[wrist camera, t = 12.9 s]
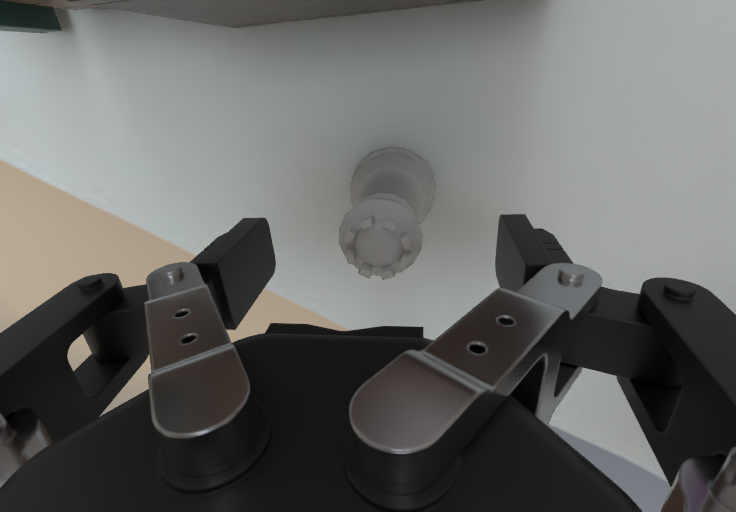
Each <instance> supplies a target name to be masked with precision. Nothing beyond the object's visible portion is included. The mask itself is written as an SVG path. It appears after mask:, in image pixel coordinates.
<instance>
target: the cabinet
mask: <svg viewBox="0 0 736 512" xmlns="http://www.w3.org/2000/svg"><path fill="white" fill-rule="evenodd" d="M67 1H69V2H73V3H79V4H86V5H91V6H97V7H104V8H110V9H116V10H123V11H129V12H136V13H142V14H148V15H155V16H161V17H168V18H174V19H180V20H187V21H193V22H199V23H206V24H212V25H219V26H225V27H232V28H239V27H248V26H257V25H266V24H274V23H283V22H292V21H301V20H310V19H319V18H328V17H337V16H346V15H355V14H364V13H373V12H382V11H391V10H400V9H409V8H418V7H427V6H436V5H445V4H454V3H463V2H471V1H480V0H67Z"/></svg>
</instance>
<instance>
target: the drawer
mask: <svg viewBox="0 0 736 512" xmlns="http://www.w3.org/2000/svg"><path fill="white" fill-rule="evenodd" d="M53 7H54V8H61V9H62V8H64V9H70V10H81V9H89V8H97V6H91V5H86V4H79V3H73V2H69V1H67V0H0V30H1V31H17V32H32V33H47V32H56V31H61V27H60V24H59V21H58V19H57V16H56V13H55V11H54V8H53Z"/></svg>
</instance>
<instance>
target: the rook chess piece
mask: <svg viewBox="0 0 736 512" xmlns="http://www.w3.org/2000/svg"><path fill="white" fill-rule="evenodd" d="M434 189H435V183H434V180H433V176H432V173H431V170H430V168H429V167H428V166H427V165H426V163H425V162H424V161H423V160H422V159H421V158H420V157H419V156H418V155H416V154H414V153H412V152H410V151H408V150H406V149H402V148H385V149H382V150H379V151H376V152H374V153H371V154H370V155H369V156H368V157H367V158H366V159H364V160H363V161H362V162H361V163H360V164H359V166H358V168H357V170H356V173H355V175H354V177H353V181H352V183H351V201H352V204H353V206H354V208H353V209H352V210H350V211H349V212H348V213H347V214H346V215H345V217H344V219H343V222H342V224H341V226H340V228H339V244H340V246H341V248H342V251H343V253H344V255H345V257H346V259H347V261H348V264H351V263H352V264H353V265H354V266H355V267H356V268H357V269H359V272H358V274H360V275H362V276H365V277H367V278H369V279H370V276H371V275H379V276H382V280H384V279H388V278H392V277H395V274H396V273H400V272H402V271H403V270H405V269H406V268H407V267H409V266H410V265H412V264H413V263H414V261H415V259H416V258H417V256H418V254H419V253H420V251H421V244H422V233H421V230H420V227H419V223H420V222H422V221H423V220H424V219H425V217H426V216H427V214H428V212H429V210H430V208H431V207H432V203H433V199H434Z"/></svg>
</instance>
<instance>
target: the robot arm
mask: <svg viewBox="0 0 736 512" xmlns="http://www.w3.org/2000/svg"><path fill="white" fill-rule="evenodd" d="M275 265H276V261H275V254H274V249H273V244H272V239H271V233H270V228H269V224H268V221H267V220H266V219H265V218H243V219H242V220H241V221H240V222H239V223H238V224H237V225H235V226H234V227H233V228H232V229H231V230H230V231H229V232H227V233H225V234H223V235H221V236H219V237H218V238H216V239H215V240H214V241H213V242H212V243H211V244H210V245H209V246H207V247H206V248H205V249H204V251H202V252H201V253H199V254H198V255H197V256H196V257H195V258H194V259H193V260H192V261H190V262H180V263H173V264H169V265H166V266H163V267H161V268H158V269H156V270H155V271H153V272H152V273H150V274H149V275H148V276H147V279H146V282H147V284H146V285H140V286H133V287H127V288H123V287H122V285H121V282H120V280H119V277H118V275H116V274H112V273H103V274H97V275H91V276H87V277H84V278H82V279H80V280H78V281H76V282H74V283H72V284H70V285H69V286H67V287H66V288H64V289H63V290H62V291H60V292H59V293H57V294H56V295H54V296H53V297H51V298H50V299H49V300H47V301H46V302H44V303H43V304H42V305H40V306H39V307H37V308H36V309H34V310H33V311H31V312H30V313H29V314H27V315H26V316H24V317H23V318H21V319H20V320H19V321H17V322H16V323H14V324H13V325H11V326H10V327H9V328H7V329H6V330H4V331H3V332H2V333H0V512H642V510H641V509H640V508H639V507H638V506H637V505H636V503H635V502H634V501H633V500H632V499H631V498H630V497H629V496H628V495H627V494H626V493H625V492H624V491H623V490H622V489H621V488H620V487H619V486H617V484H615V483H614V482H613V481H612V480H611V479H610V478H608V477H607V476H606V475H605V474H604V473H602V472H601V471H600V470H599V469H598V468H596V467H595V466H594V465H593V464H592V463H591V462H589V461H588V460H587V459H586V458H585V457H584V456H582V455H581V454H580V453H579V452H577V451H576V450H575V449H574V448H573V447H572V446H570V445H569V444H568V443H567V442H566V441H565V440H563V439H562V438H561V437H560V436H559V435H557V434H556V433H555V432H554V431H553V430H552V429H550V428H549V427H548V424H549V421H550V419H551V416H552V414H553V413H554V411H555V409H556V408H557V406H558V405H559V404H560V402H561V401H562V399H563V398H564V396H565V395H566V393H567V392H568V390H569V389H570V387H571V386H572V384H573V383H574V382H575V380H576V379H577V377H578V376H579V374H580V373H581V371H582V368H587V369H592V370H596V371H600V372H604V373H608V374H612V375H616V376H617V380H618V382H619V384H620V386H621V388H622V390H623V392H624V394H625V396H626V398H627V400H628V402H629V404H630V406H631V408H632V410H633V412H634V414H635V416H636V418H637V420H638V422H639V424H640V426H641V428H642V430H643V432H644V434H645V436H646V438H647V440H648V442H649V444H650V446H651V448H652V450H653V452H654V454H655V456H656V458H657V460H658V462H659V464H660V466H661V468H662V470H663V472H664V474H665V476H666V478H667V480H668V482H669V484H670V486H671V490H670V492H669V494H668V496H667V498H666V501H665V503H664V505H663V507H662V510H661V512H736V315H735V314H734V313H733V312H732V311H731V310H730V309H729V308H728V307H727V306H726V305H725V304H724V303H722V302H721V301H720V300H719V299H718V298H717V297H716V296H715V295H714V294H713V293H711V292H710V291H709V290H707V289H705V288H703V287H701V286H699V285H696V284H694V283H691V282H688V281H684V280H679V279H673V278H653V279H649V280H646V281H645V282H644V283H643V285H642V288H641V292H640V294H636V293H630V292H624V291H618V290H612V289H608V288H605V287H602V277H601V276H600V275H599V274H598V273H597V272H595V271H594V270H592V269H590V268H587V267H584V266H581V265H577V264H573V262H572V261H571V259H570V258H569V256H568V255H567V254H566V252H565V251H563V248H562V247H561V245H560V244H559V242H558V241H557V239H556V238H555V237H554V235H552V234H551V233H549V232H547V231H545V230H544V229H534V228H533V227H532V225H531V223H530V222H529V220H528V218H527V217H526V215H525V214H510V215H500V218H499V225H498V236H497V248H496V259H495V269H496V276H497V280H498V283H499V286H500V288H498V289H496V290H495V291H494V292H492V293H491V294H490V295H489V296H488V297H486V298H485V299H484V300H483V301H482V302H480V303H479V304H478V305H477V306H475V307H474V308H473V309H472V310H471V311H469V312H468V313H467V314H466V315H465V316H463V317H462V318H461V319H460V320H459V321H457V322H456V323H455V324H454V325H452V326H451V327H450V328H449V329H448V330H446V331H445V332H444V333H443V334H442V335H440V336H439V337H438V338H437V339H435V340H430V339H426V338H423V327H402V326H381V327H374V328H366V329H359V330H351V331H337V330H333V329H327V328H323V327H318V326H313V325H309V324H283V323H271V324H270V326H269V327H268V329H267V331H266V332H265V333H264V334H258V335H254V336H250V337H247V338H244V339H241V340H238V341H235V342H233V343H231V341H230V338H229V336H228V333H227V331H226V329H227V330H229V329H230V330H235V329H236V328H237V327H238V325H239V324H240V322H241V321H242V319H243V318H244V316H245V315H246V314H247V312H248V311H249V309H250V308H251V306H252V305H253V303H254V302H255V300H256V299H257V297H258V296H259V294H260V293H261V292H262V290H263V289H264V287H265V286H266V284H267V283H268V282H269V280H270V279H271V277H272V276H273V274H274V271H275ZM81 334H83V335H84V337H85V340H86V342H87V344H88V346H89V348H90V350H91V352H92V354H91V355H90V356H89V357H88V358H87V359H86V360H85V361H84V362H83V363H82V364H81V365H80V366H79V367H78V368H77V369H76V370H75V371H74V372H73V370H72V368H71V366H70V365H69V362H68V359H67V353H68V349H69V347H70V345H71V344H72V343H73V341H75V340H76V339H77V338H78V337H79V336H80V335H81ZM148 354H150V363H151V374H149V375H148V382H149V383H148V384H149V389H148V390H146V391H144V392H143V393H141V394H139V395H138V396H136V397H134V398H132V399H130V400H128V401H127V402H125V403H123V404H121V405H120V406H118V407H116V408H114V409H113V410H111V411H109V412H107V413H105V414H103V415H102V416H100V415H101V414H102V412H103V411H104V410H105V409H106V408H107V406H108V405H109V404H110V403H111V402H112V400H113V399H114V398H115V397H116V395H117V394H118V393H119V392H120V391H121V389H122V388H123V387H124V386H125V384H126V383H127V382H128V381H129V380H130V379H131V377H132V376H133V375H134V374H135V373H136V371H137V370H138V369H139V368H140V366H141V365H142V364H143V363H144V362H145V360H146V359H147V357H148ZM99 416H100V417H99Z"/></svg>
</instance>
